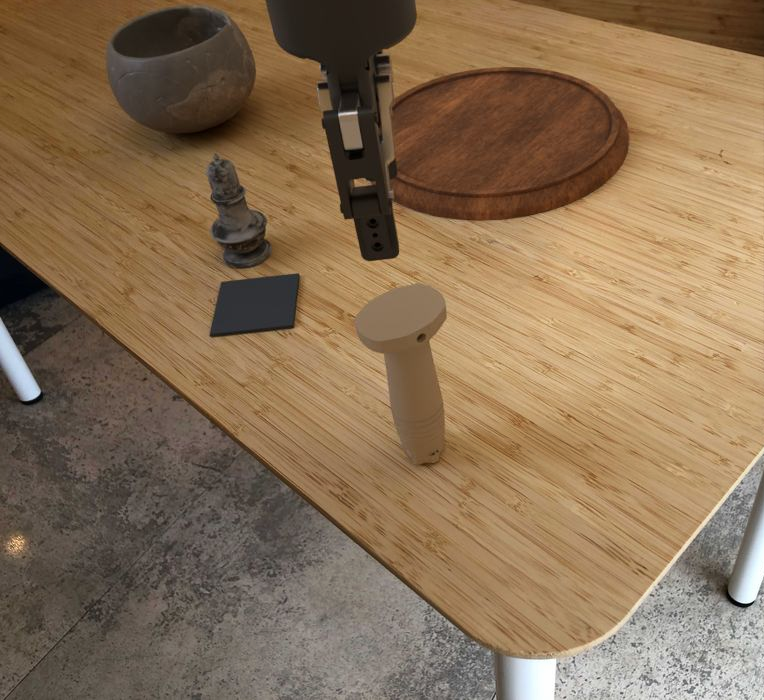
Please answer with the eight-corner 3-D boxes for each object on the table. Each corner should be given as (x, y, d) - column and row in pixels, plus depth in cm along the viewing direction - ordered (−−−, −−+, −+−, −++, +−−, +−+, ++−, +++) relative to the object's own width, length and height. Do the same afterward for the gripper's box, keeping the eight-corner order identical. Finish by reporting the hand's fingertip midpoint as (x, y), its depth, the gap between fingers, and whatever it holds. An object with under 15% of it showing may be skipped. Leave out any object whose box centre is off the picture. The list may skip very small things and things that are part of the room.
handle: (475, 449, 68) (458, 307, 58) (409, 491, 66) (379, 351, 55) (440, 415, 71) (418, 275, 61) (376, 454, 68) (342, 314, 58)
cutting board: (674, 111, 104) (675, 92, 102) (540, 252, 86) (540, 231, 84) (460, 63, 119) (458, 46, 117) (307, 175, 101) (303, 156, 99)
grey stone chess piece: (281, 237, 92) (253, 137, 84) (264, 271, 88) (233, 170, 79) (230, 236, 93) (197, 137, 84) (211, 269, 89) (174, 169, 80)
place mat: (210, 337, 81) (209, 334, 80) (222, 284, 87) (221, 281, 86) (293, 328, 81) (293, 324, 80) (299, 275, 86) (299, 272, 86)
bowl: (293, 100, 115) (270, 6, 106) (208, 167, 104) (174, 69, 95) (193, 82, 122) (164, -8, 113) (103, 143, 111) (63, 49, 102)
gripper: (268, -96, 47) (327, 162, 58) (235, 4, 36) (314, 295, 47) (403, -112, 47) (436, 149, 58) (409, -16, 36) (448, 279, 47)
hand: (381, 214), depth 53 cm, fingers open, 8 cm apart
